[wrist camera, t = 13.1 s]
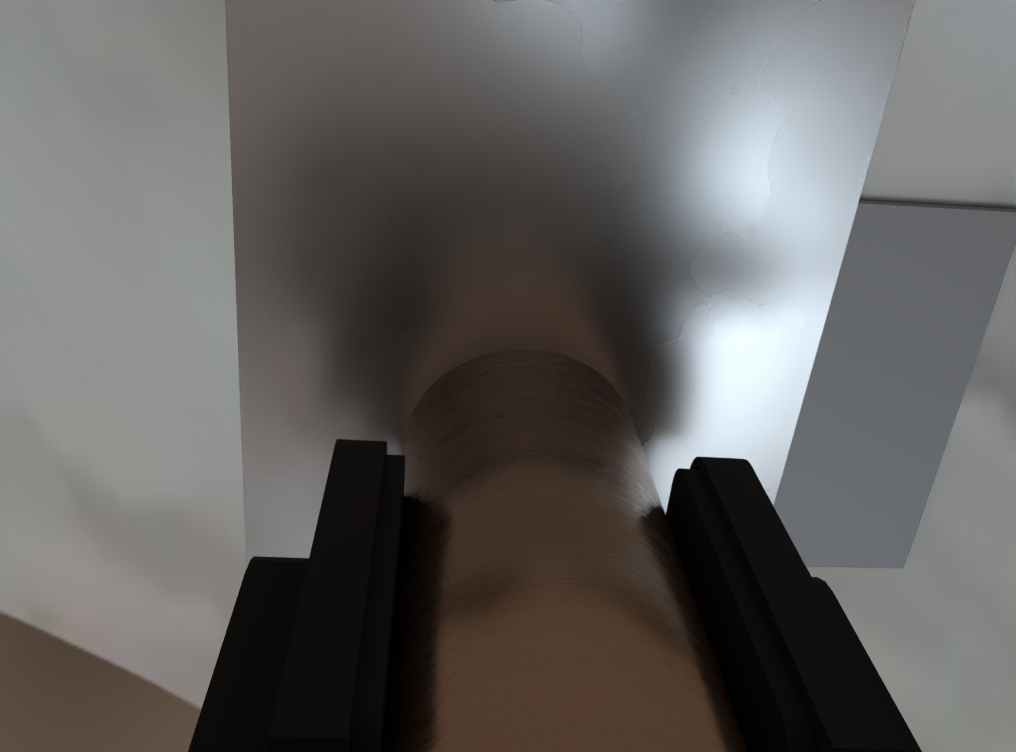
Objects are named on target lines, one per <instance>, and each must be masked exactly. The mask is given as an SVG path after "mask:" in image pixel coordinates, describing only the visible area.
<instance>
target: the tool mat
mask: <svg viewBox="0 0 1016 752" xmlns="http://www.w3.org/2000/svg"><path fill="white" fill-rule="evenodd" d="M1015 243H1016V209H1007V208H990V207H972V206H955V205H937V204H920V203H903V202H885V201H868V200H859V203H858V206H857V210H856V213H855V217H854V221H853V224H852V228H851V231H850V235H849V238H848V242H847V245H846V249H845V253H844V256H843V260H842V263H841V267H840V270H839V274H838V278H837V281H836V285H835V288H834V292H833V295H832V299H831V302H830V306H829V310H828V313H827V317H826V320H825V324H824V327H823V331H822V335H821V338H820V342H819V345H818V349H817V352H816V356H815V359H814V363H813V367H812V370H811V374H810V377H809V381H808V384H807V388H806V392H805V395H804V399H803V402H802V406H801V409H800V413H799V416H798V420H797V424H796V427H795V431H794V434H793V438H792V441H791V445H790V449H789V452H788V456H787V459H786V463H785V466H784V470H783V473H782V477H781V481H780V484H779V488H778V491H777V495H776V498H775V502H774V508H775V510H776V512H777V514H778V516H779V517H780V519H781V521H782V523H783V525H784V527H785V529H786V530H787V532H788V534H789V536H790V538H791V540H792V542H793V543H794V545H795V547H796V549H797V551H798V553H799V555H800V557H801V558H802V560H803V562H804V564H805V566H806V567H856V568H904V565H905V563H906V560H907V557H908V554H909V551H910V548H911V545H912V542H913V539H914V536H915V534H916V531H917V528H918V525H919V522H920V519H921V516H922V513H923V510H924V507H925V505H926V502H927V499H928V496H929V493H930V490H931V487H932V484H933V481H934V478H935V476H936V473H937V470H938V467H939V464H940V461H941V458H942V455H943V452H944V449H945V446H946V444H947V441H948V438H949V435H950V432H951V429H952V426H953V423H954V420H955V417H956V415H957V412H958V409H959V406H960V403H961V400H962V397H963V394H964V391H965V388H966V386H967V383H968V380H969V377H970V374H971V371H972V368H973V365H974V362H975V359H976V356H977V354H978V351H979V348H980V345H981V342H982V339H983V336H984V333H985V330H986V327H987V325H988V322H989V319H990V316H991V313H992V310H993V307H994V304H995V301H996V298H997V296H998V293H999V290H1000V287H1001V284H1002V281H1003V278H1004V275H1005V272H1006V269H1007V267H1008V264H1009V261H1010V258H1011V255H1012V252H1013V249H1014V246H1015Z"/></svg>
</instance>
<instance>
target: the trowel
mask: <svg viewBox="0 0 1016 752" xmlns="http://www.w3.org/2000/svg"><path fill="white" fill-rule="evenodd" d="M914 3H915V0H225V7H226V34H227V61H228V88H229V115H230V141H231V168H232V195H233V222H234V249H235V276H236V303H237V330H238V356H239V383H240V410H241V437H242V464H243V491H244V518H245V545H246V569H247V567H248V564H249V562H250V560H251V559H252V558H253V557H254V556H261V557H288V558H309V556H310V552H311V547H312V543H313V539H314V534H315V530H316V525H317V521H318V517H319V512H320V508H321V503H322V499H323V495H324V490H325V486H326V481H327V477H328V473H329V468H330V464H331V459H332V455H333V451H334V446H335V442H336V440H337V439H348V440H369V441H387V455H405V483H404V501H403V512H402V524H401V535H400V546H399V558H398V569H397V580H396V592H395V603H394V614H393V626H392V637H391V648H390V660H389V671H388V682H387V694H386V705H385V716H384V728H383V739H382V750H381V752H748V749H747V746H746V744H745V741H744V738H743V735H742V732H741V729H740V726H739V724H738V721H737V718H736V715H735V712H734V709H733V706H732V704H731V701H730V698H729V695H728V692H727V689H726V686H725V684H724V681H723V678H722V675H721V672H720V669H719V666H718V664H717V661H716V658H715V655H714V652H713V649H712V646H711V644H710V641H709V638H708V635H707V632H706V629H705V626H704V624H703V621H702V618H701V615H700V612H699V609H698V606H697V604H696V601H695V598H694V595H693V592H692V589H691V586H690V584H689V581H688V578H687V575H686V572H685V569H684V566H683V563H682V561H681V558H680V555H679V552H678V549H677V546H676V543H675V541H674V538H673V535H672V532H671V529H670V526H669V523H668V521H667V518H666V511H667V506H668V501H669V496H670V491H671V486H672V481H673V477H674V474H675V472H676V470H677V469H679V468H683V469H690V466H691V464H692V462H693V460H694V459H695V458H696V457H697V456H698V457H718V458H738V459H746V460H748V461H749V463H750V464H751V465H752V467H753V469H754V471H755V473H756V475H757V476H758V478H759V480H760V482H761V484H762V486H763V488H764V489H765V491H766V493H767V495H768V497H769V499H770V501H771V503H772V504H773V506H774V502H775V498H776V495H777V491H778V488H779V484H780V481H781V477H782V473H783V470H784V466H785V463H786V459H787V456H788V452H789V449H790V445H791V441H792V438H793V434H794V431H795V427H796V424H797V420H798V416H799V413H800V409H801V406H802V402H803V399H804V395H805V392H806V388H807V384H808V381H809V377H810V374H811V370H812V367H813V363H814V359H815V356H816V352H817V349H818V345H819V342H820V338H821V335H822V331H823V327H824V324H825V320H826V317H827V313H828V310H829V306H830V302H831V299H832V295H833V292H834V288H835V285H836V281H837V278H838V274H839V270H840V267H841V263H842V260H843V256H844V253H845V249H846V245H847V242H848V238H849V235H850V231H851V228H852V224H853V221H854V217H855V213H856V210H857V206H858V203H859V199H860V196H861V192H862V188H863V185H864V181H865V178H866V174H867V171H868V167H869V164H870V160H871V156H872V153H873V149H874V146H875V142H876V139H877V135H878V131H879V128H880V124H881V121H882V117H883V114H884V110H885V107H886V103H887V99H888V96H889V92H890V89H891V85H892V82H893V78H894V74H895V71H896V67H897V64H898V60H899V57H900V53H901V50H902V46H903V42H904V39H905V35H906V32H907V28H908V25H909V21H910V17H911V14H912V10H913V7H914Z"/></svg>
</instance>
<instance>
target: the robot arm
mask: <svg viewBox="0 0 1016 752" xmlns="http://www.w3.org/2000/svg"><path fill="white" fill-rule="evenodd" d="M404 483H405V455H387V441H369V440H348V439H337V440H336V442H335V446H334V451H333V455H332V459H331V464H330V468H329V473H328V477H327V481H326V486H325V490H324V495H323V499H322V503H321V508H320V512H319V517H318V521H317V525H316V530H315V534H314V539H313V543H312V547H311V552H310V556H309V558H288V557H261V556H254V557H253V558H252V559H251V560H250V562H249V564H248V567H247V569H246V572H245V575H244V578H243V581H242V584H241V587H240V591H239V594H238V597H237V600H236V603H235V606H234V609H233V612H232V616H231V619H230V622H229V625H228V628H227V631H226V634H225V637H224V641H223V644H222V647H221V650H220V653H219V656H218V659H217V663H216V666H215V669H214V672H213V675H212V678H211V681H210V684H209V688H208V691H207V694H206V697H205V700H204V703H203V706H202V710H201V713H200V716H199V719H198V722H197V725H196V728H195V731H194V735H193V738H192V741H191V744H190V747H189V750H188V752H381V750H382V739H383V728H384V716H385V705H386V694H387V682H388V671H389V660H390V648H391V637H392V626H393V614H394V603H395V592H396V580H397V569H398V558H399V546H400V535H401V524H402V512H403V501H404ZM666 518H667V521H668V523H669V526H670V529H671V532H672V535H673V538H674V541H675V543H676V546H677V549H678V552H679V555H680V558H681V561H682V563H683V566H684V569H685V572H686V575H687V578H688V581H689V584H690V586H691V589H692V592H693V595H694V598H695V601H696V604H697V606H698V609H699V612H700V615H701V618H702V621H703V624H704V626H705V629H706V632H707V635H708V638H709V641H710V644H711V646H712V649H713V652H714V655H715V658H716V661H717V664H718V666H719V669H720V672H721V675H722V678H723V681H724V684H725V686H726V689H727V692H728V695H729V698H730V701H731V704H732V706H733V709H734V712H735V715H736V718H737V721H738V724H739V726H740V729H741V732H742V735H743V738H744V741H745V744H746V746H747V749H748V752H922V751H921V749H920V747H919V746H918V744H917V742H916V740H915V738H914V737H913V735H912V733H911V731H910V729H909V728H908V726H907V724H906V722H905V720H904V719H903V717H902V715H901V713H900V711H899V710H898V708H897V706H896V704H895V702H894V701H893V699H892V697H891V695H890V694H889V692H888V690H887V688H886V686H885V685H884V683H883V681H882V679H881V677H880V676H879V674H878V672H877V670H876V668H875V667H874V665H873V663H872V661H871V659H870V658H869V656H868V654H867V652H866V650H865V649H864V647H863V645H862V643H861V641H860V640H859V638H858V636H857V634H856V632H855V631H854V629H853V627H852V625H851V623H850V622H849V620H848V618H847V616H846V615H845V613H844V611H843V609H842V607H841V606H840V604H839V602H838V600H837V598H836V597H835V595H834V593H833V591H832V590H831V589H830V587H829V586H828V585H827V583H826V582H825V581H823V580H821V579H819V578H818V577H811V575H810V573H809V571H808V570H807V568H806V566H805V564H804V562H803V560H802V558H801V557H800V555H799V553H798V551H797V549H796V547H795V545H794V543H793V542H792V540H791V538H790V536H789V534H788V532H787V530H786V529H785V527H784V525H783V523H782V521H781V519H780V517H779V516H778V514H777V512H776V510H775V508H774V506H773V504H772V503H771V501H770V499H769V497H768V495H767V493H766V491H765V489H764V488H763V486H762V484H761V482H760V480H759V478H758V476H757V475H756V473H755V471H754V469H753V467H752V465H751V464H750V463H749V461H748V460H746V459H738V458H718V457H698V456H697V457H696V458H695V459H694V460H693V462H692V464H691V466H690V469H683V468H679V469H677V470H676V472H675V474H674V477H673V481H672V486H671V491H670V496H669V501H668V506H667V511H666Z"/></svg>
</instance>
